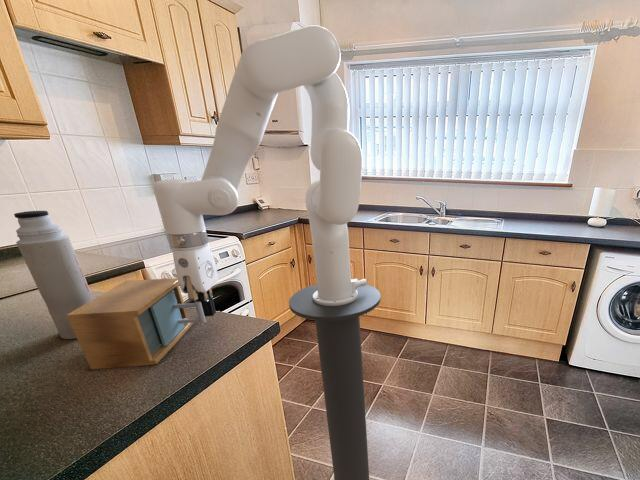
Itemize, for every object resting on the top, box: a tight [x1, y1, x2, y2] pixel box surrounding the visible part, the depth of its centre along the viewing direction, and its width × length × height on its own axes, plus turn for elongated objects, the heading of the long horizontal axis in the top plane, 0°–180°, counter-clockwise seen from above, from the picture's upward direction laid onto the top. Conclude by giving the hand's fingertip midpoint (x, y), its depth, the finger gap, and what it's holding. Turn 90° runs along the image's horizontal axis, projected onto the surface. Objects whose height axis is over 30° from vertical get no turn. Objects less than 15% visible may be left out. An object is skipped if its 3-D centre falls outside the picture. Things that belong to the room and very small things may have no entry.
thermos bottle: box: [13, 210, 95, 340], centre depth 75 cm, size 8×8×28 cm
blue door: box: [150, 290, 207, 346], centre depth 74 cm, size 6×9×9 cm
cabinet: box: [67, 277, 195, 370], centre depth 72 cm, size 12×18×12 cm, turn 8°
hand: (207, 314), depth 81 cm, fingers closed
